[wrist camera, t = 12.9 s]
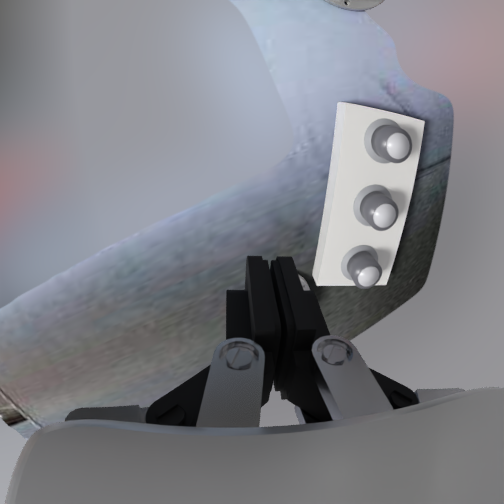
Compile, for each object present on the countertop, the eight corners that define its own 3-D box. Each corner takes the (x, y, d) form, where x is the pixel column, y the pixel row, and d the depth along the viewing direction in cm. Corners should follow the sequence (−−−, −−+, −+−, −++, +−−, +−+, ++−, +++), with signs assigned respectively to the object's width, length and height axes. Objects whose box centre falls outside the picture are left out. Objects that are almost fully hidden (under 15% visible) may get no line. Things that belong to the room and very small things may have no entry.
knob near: (373, 121, 32) (385, 124, 29) (402, 128, 33) (415, 132, 30) (368, 155, 34) (380, 161, 32) (397, 160, 35) (410, 166, 32)
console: (337, 101, 34) (346, 102, 31) (413, 118, 35) (425, 121, 32) (312, 274, 46) (317, 286, 44) (379, 274, 48) (386, 285, 45)
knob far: (350, 250, 41) (358, 262, 38) (377, 251, 41) (386, 263, 38) (343, 277, 43) (351, 290, 40) (369, 277, 43) (378, 289, 40)
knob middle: (363, 189, 37) (373, 197, 34) (391, 192, 37) (402, 201, 34) (357, 220, 39) (366, 231, 36) (384, 222, 39) (395, 232, 36)
